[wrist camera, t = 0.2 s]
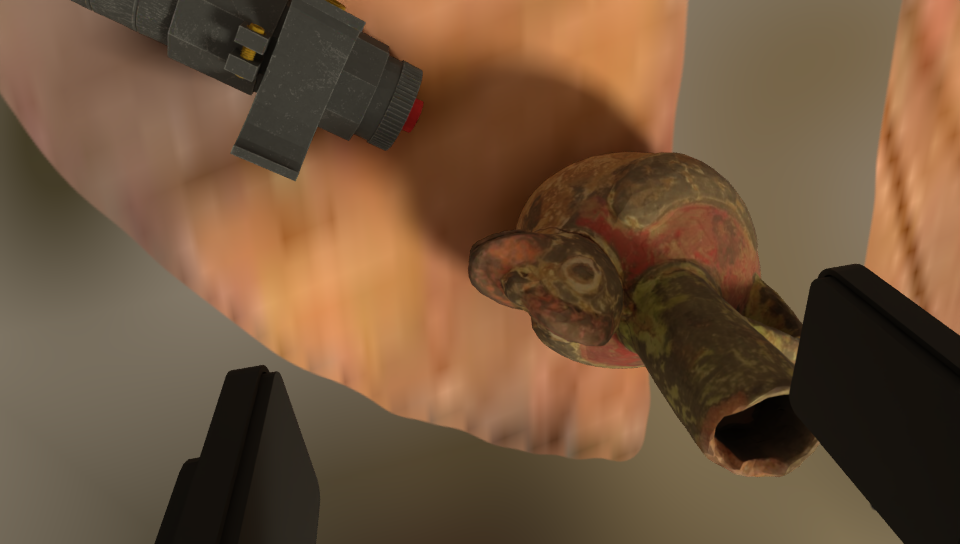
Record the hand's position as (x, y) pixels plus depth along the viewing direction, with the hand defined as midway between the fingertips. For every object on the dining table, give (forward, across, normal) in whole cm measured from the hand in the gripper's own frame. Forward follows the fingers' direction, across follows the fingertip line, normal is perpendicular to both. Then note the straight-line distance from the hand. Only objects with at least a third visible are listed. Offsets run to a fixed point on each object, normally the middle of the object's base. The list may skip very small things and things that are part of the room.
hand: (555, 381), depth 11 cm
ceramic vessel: (+37, -12, +16) cm, 42 cm away
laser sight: (+37, +10, -2) cm, 38 cm away
